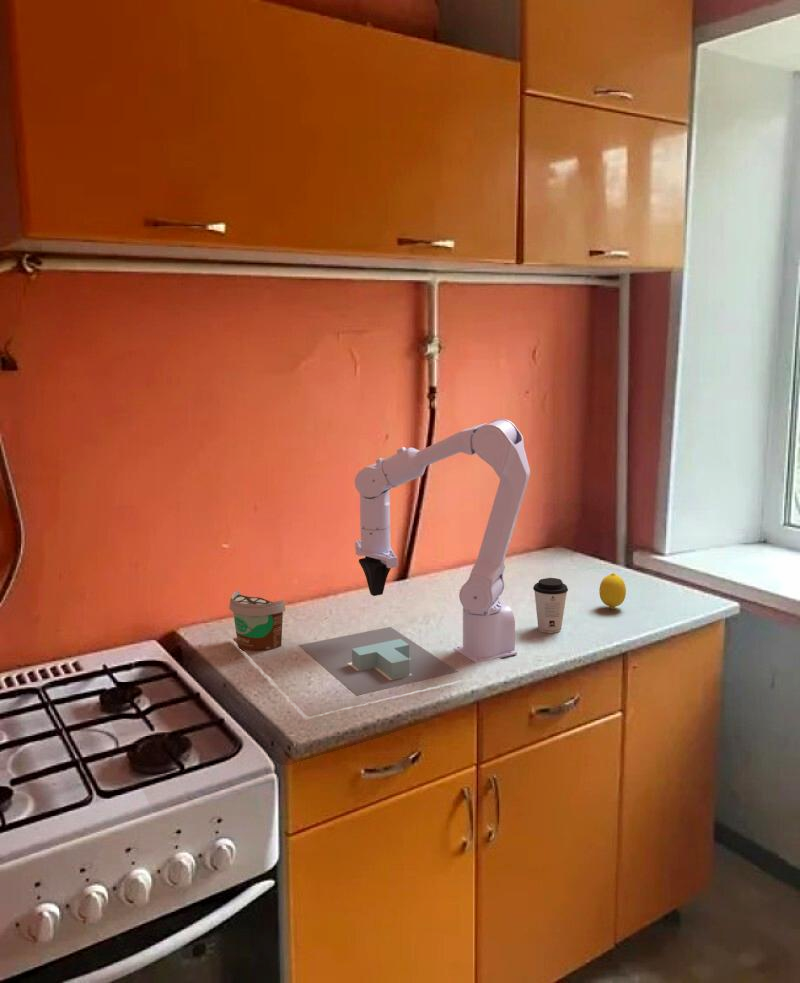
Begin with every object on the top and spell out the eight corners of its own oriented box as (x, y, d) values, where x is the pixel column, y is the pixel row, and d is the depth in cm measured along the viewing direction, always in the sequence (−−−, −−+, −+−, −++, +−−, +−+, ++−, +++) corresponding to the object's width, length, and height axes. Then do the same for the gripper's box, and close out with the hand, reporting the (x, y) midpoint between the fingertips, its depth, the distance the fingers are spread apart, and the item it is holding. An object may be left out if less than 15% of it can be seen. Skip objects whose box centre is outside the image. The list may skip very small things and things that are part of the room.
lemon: (600, 603, 195) (601, 568, 193) (626, 606, 193) (628, 570, 191) (597, 611, 189) (598, 575, 188) (623, 614, 188) (625, 578, 186)
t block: (400, 653, 166) (400, 638, 166) (425, 671, 158) (425, 655, 158) (352, 664, 162) (351, 648, 161) (375, 683, 154) (375, 666, 153)
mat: (390, 629, 181) (390, 626, 181) (457, 674, 158) (458, 671, 158) (298, 647, 171) (298, 645, 171) (356, 698, 149) (356, 695, 149)
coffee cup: (559, 637, 175) (560, 589, 173) (526, 631, 179) (527, 583, 177) (572, 626, 181) (573, 579, 179) (540, 620, 184) (541, 574, 182)
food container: (217, 647, 172) (215, 598, 170) (240, 637, 177) (237, 589, 175) (265, 660, 165) (263, 609, 163) (287, 650, 170) (285, 600, 168)
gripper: (340, 521, 175) (342, 587, 177) (373, 537, 162) (374, 608, 165) (372, 517, 178) (374, 582, 181) (407, 532, 165) (408, 602, 168)
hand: (376, 594), depth 173 cm, fingers closed
